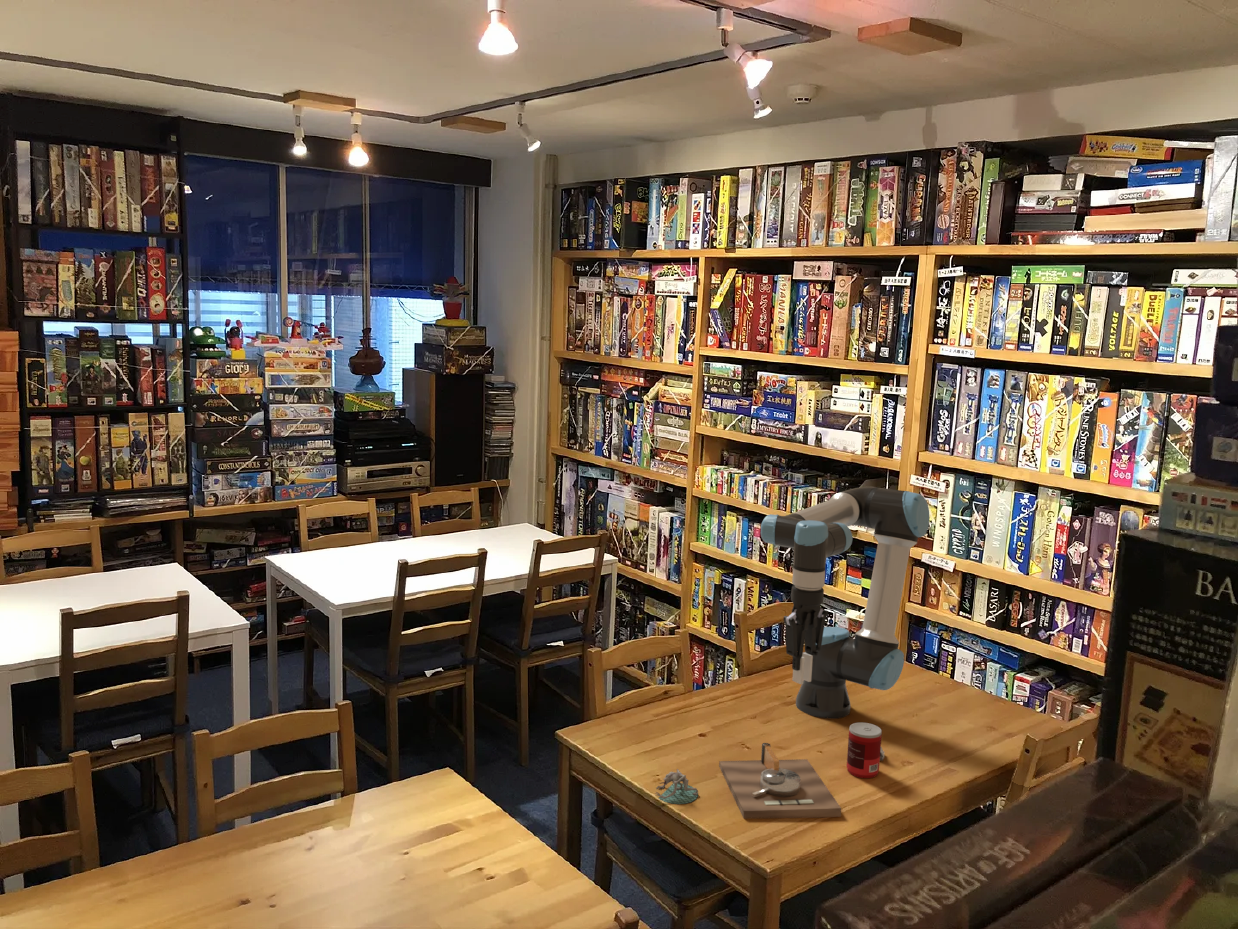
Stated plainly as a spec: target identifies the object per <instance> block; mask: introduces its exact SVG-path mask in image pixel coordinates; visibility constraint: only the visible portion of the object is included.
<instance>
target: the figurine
mask: <svg viewBox="0 0 1238 929" xmlns="http://www.w3.org/2000/svg"><path fill="white" fill-rule="evenodd" d="M663 780H664V781H663V782H659V784H660V785H658V786H657V787H656V790H658V791H660V790H661V789H664V788H665V787H666V786H667V785H668V784H669V783H671V785H670V786H668V788H667V789H666V790H665V791H664V792H663V793H662V794H660V793H659V792H657V791H655V793H654V794H655V796H659V797H658V799H659V800H661V801H662V802H664V803H667V804H671V805H688V804H692V803H694V802H695V801H697V799H698V798H699V790H698V788H697V787H693V786H691V785H689V779H687V774H683V773H682V772H680V770H679V769H678V768H677V769H676V772H674V771H669V772H668V773H667V774H665V776H664V778H663ZM661 784H663V785H661Z"/></svg>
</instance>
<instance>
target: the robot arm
mask: <svg viewBox="0 0 1238 929" xmlns="http://www.w3.org/2000/svg"><path fill="white" fill-rule="evenodd" d="M929 524H930V509H929V504H928V501H927V499H926V498H925V497H924V496H923V495H922V494H921V493H917V492H913V491H909V490H899V489H892V488H883V487H878V486H861V487H855V488H851V489H847V490H843V491H840V492H838V493H835V494H833V495H832V496H831V497H830V499H828V500H826V501H823V502H820V503H817V504H815V505H812V506H810V507H807V508H803V509H801V510H798V511H796V512H792V513H789V514H786V515H780V514H768V515H766V516H765V517H764V518H763V520H762V522H761V525H760V537H761V539H762V541H763V542H764V543H767V544H771V545H774V546H775V547H776V546H778V547H783V548H788V549H789V548H790V549H793V566H792V578H791V579H792V582H791V584H792V586H791V591H790V592H791V593H790V600H791V602H792V604H793V606H792V609H791V614H789V615H784V616H783V622H784V624H785V625H784V626H785V646H786V647H785V649H786V650H785V651H786V654H787V655H789V656H792V663H791V668H792V680H791V681H792V682H794V683H796V684H799V685H801V686H800V688H799V690H798V692H797V694H796V698H795V707H796V708H797V709H798V710H799V711H801V713H803V714H806V715H809V716H812V717H815V718H820V719H828V720H829V719H830V720H832V719H834V720H835V719H842V718H845V717H847V716H849V715H850V713H851V707H852V706H851V701H850V700H851V699H850V696H849V692H848V689H847V684H846V682H851V683H854V684H857V685H861V686H864V687H868V688H870V689H877V690H881V691H887V690H890V689H892V688H893V687H894V686H895V685H896V684H897V682H898V680H899V679H900V676H901V674H902V672H903V668H904V664H905V654H904V652H903V651H902V650H901V649H899V645H900V642H899V640H898V638H897V637H896V635H895V634H896V628H897V624H898V618H899V612H900V607H901V603H902V602H901V600H902V595H903V590H904V584H905V578H906V573H907V569H908V563H909V556H910V552H911V548H912V547H914V546H916V545H917V544H918V539H919V538H922V537H924V536H926V534H927V531H928V530H929ZM851 526H854V527H855V526H857V527H863V528H867V529H873V530H874V532H873V536H874V538H875V539H876V541H877V547H876V552H875V556H874V563H873V568H872V575H871V580H870V584H869V591H868V595H867V596H868V597H867V601H866V608H865V612H864V618H863V623H862V627H861V629H859V630H858V631H857V632H855V634H854V635H855V636H854V638H853V637H850V635H851V634H850V631H849V630H848V629H847V628H843V627H837V626H825V623H826V620H827V618H828V614H829V611H828V610H826V609H823V608H822V606H821V605H822V604H823V602H824V593H825V589H824V588H823V587H824V586H825V581H826V562H827V558H829V557H834V556H837V555H840V554H842V553H844V552H845V551H847V550H849V548H851V545H852V544H853V533H852V531H851V530H850V528H849V527H851Z"/></svg>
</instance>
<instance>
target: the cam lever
mask: <svg viewBox="0 0 1238 929" xmlns="http://www.w3.org/2000/svg"><path fill="white" fill-rule="evenodd" d="M760 758H761V759H760V760H761V762H762V763H764V765H765V766H766V768H767V769H766V770H764V771H763V772H762V773H761V779H760V787H761V789H762V790H760V791H757V792H754V793H752V795H753V796H754V797H755V796H758V795H761V794H763V793H768V794H770V795H774V796H779V797H790V796H794V795H796V794H798V793H799V791H800V780H801V779H800V776H799V775H798V774H796V773H795V772H793V771H790V770H787V769H782V768H779V760H780V759H778V757H777V756H776V754H775V752H774V751H773V748H772V747H771V743H768V742H763V743H762V744H761V757H760Z"/></svg>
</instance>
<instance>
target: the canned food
mask: <svg viewBox="0 0 1238 929" xmlns="http://www.w3.org/2000/svg"><path fill="white" fill-rule="evenodd" d="M848 728H849V729H848V740H847V754H846V755H847V756H846V770H847V772H848V773H849V774H850V775H852V776H854V777H856V778H859V779H873V778H875V777H877V775H878V773H879V771H880V761H881V760H880V750H881V747H882V734H883V733H882V732H883V730H882V729H881V727H879V726H878V725H877V724H876V725H875V724H873V723H870V722H869V723H868V722H854V723H852V724H850V725H849V727H848Z"/></svg>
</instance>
